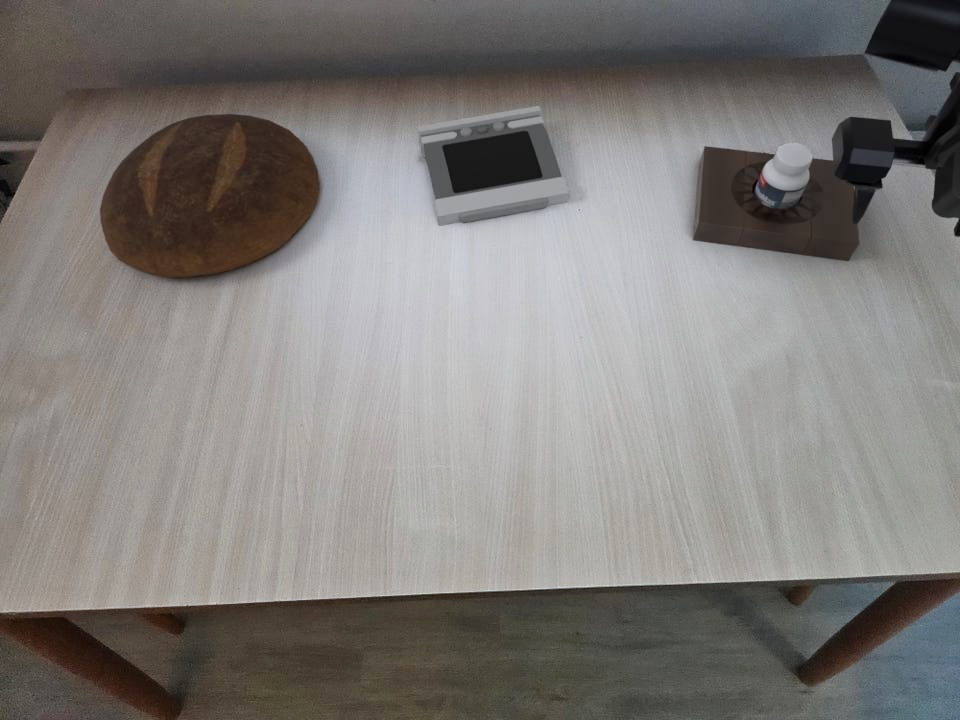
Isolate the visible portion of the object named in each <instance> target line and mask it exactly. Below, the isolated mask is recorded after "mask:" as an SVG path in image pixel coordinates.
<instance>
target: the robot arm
mask: <svg viewBox="0 0 960 720" xmlns="http://www.w3.org/2000/svg"><path fill="white" fill-rule="evenodd" d="M863 54H864V56H867V57H873V58H876V59H881V60H884V61H889V62H892V63H895V64H900V65H904V66H908V67H912V68H915V69H920V70H923V71H927V72H932V73H936V74H937V73H938V72H939V71H940V72H944V73H947V71H948V69H949V68H950V67H951V64H952V63H957V64H960V0H890V1H889V3H888V5H887V6H886V8H885V9H884V11H883V13H882V15H881V17H880V19H879V21H878V22H877V24H876V25H875V28H874V30H873V33H872V34H871V37H870V39H869V42H868V43H867V46H866V48H865V51H864V53H863ZM949 88H950V93H949V94H948V96H947V98H946V100H945V101H944V103H943V105H942V106H941V108H940V109H939V111H938V112H937V114H935V115H933V114H929V116H928V118H927V119H926V121H925V123H924V131H925V132H924V133H925V134H924V135H923V137H922V139H921V140H913V139H905V138H895V137H894V134H893V126H892V120H890V119H881V118H871V117H869V118H868V117H861V116H849V117H847V118H845V119H844V120H842V121H841V122H840V123H839V124H838V125H837V127H836V129H835V131H834V133H833V135H832V138H831V146H832V147H831V149H832V160H833V167H834V175H835V176H836V177H838V178H839V179H840V180H845V181H846V183H847V184H848V185H850V186H854V202H853V214H852V221H853V224H859V223H860V221H861V220H862V219H863V217H864V216H865V214H866V212H867V210H868V208H869V205H870V203H871V202H872V199H873V197H874V196H875V193H876V191H878V190H882V189H883V188H884V186H883V185H884V184H883V179H885V178H886V177H887V176H888V174H889V173H890V170H891V169H892V166H893V165H894V166H903V167H911V168H922V169H925V170H935V172H934V185H933V195H932V196H933V197H932V200H931V209H932V211H933V213H934V214H935V215H936V216H938V217H939V218H944V219H957V222H956V224H955V226H954V228H953V235H954V237H956V238H960V71H959V72H958V71H956V72H955V73H954V74H953V76H952V78H951V80H950V81H949Z"/></svg>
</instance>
